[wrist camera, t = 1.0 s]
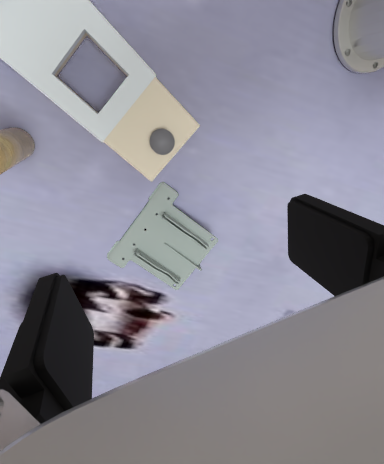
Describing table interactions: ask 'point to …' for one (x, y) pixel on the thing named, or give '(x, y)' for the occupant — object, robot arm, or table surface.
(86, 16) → the white peg board
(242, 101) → the table surface
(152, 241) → the metal bracket
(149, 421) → the robot arm
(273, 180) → the table surface
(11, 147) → the brass pin
